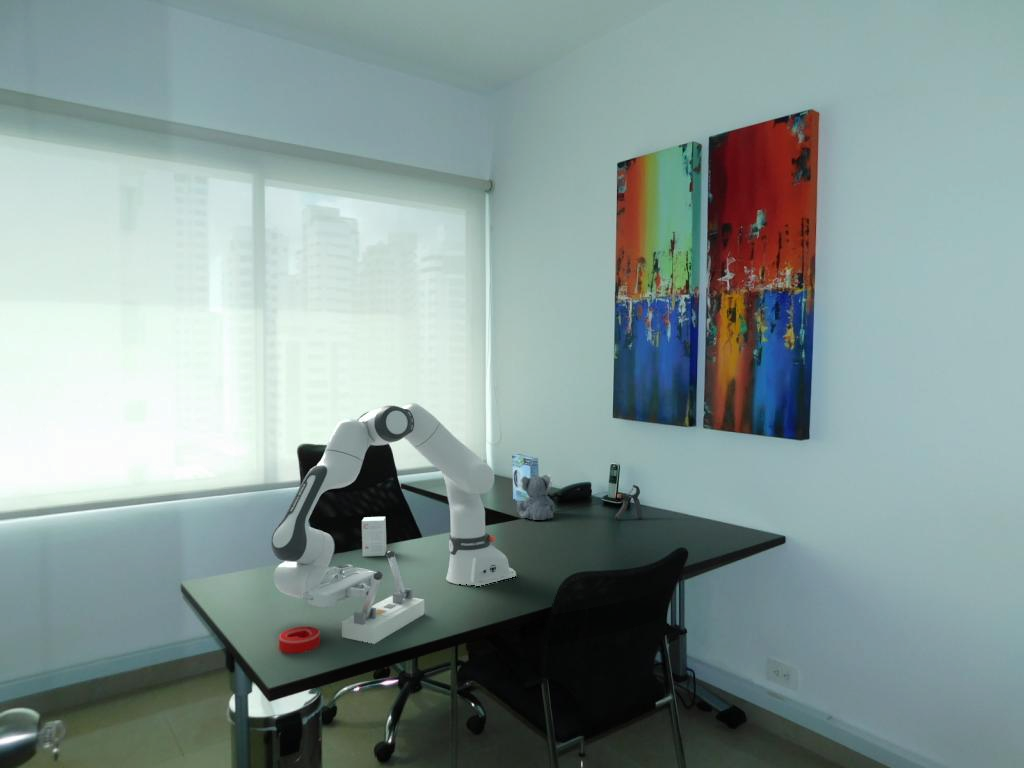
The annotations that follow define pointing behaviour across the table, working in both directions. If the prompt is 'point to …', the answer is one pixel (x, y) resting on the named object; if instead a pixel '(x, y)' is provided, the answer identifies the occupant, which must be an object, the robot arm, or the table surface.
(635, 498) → the hand grip strengthener
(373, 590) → the lever
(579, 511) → the table surface
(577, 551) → the table surface
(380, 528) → the small box
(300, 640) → the decorative ornament
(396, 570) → the lever
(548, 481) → the koala plush
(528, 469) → the light blue product box
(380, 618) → the switch unit
